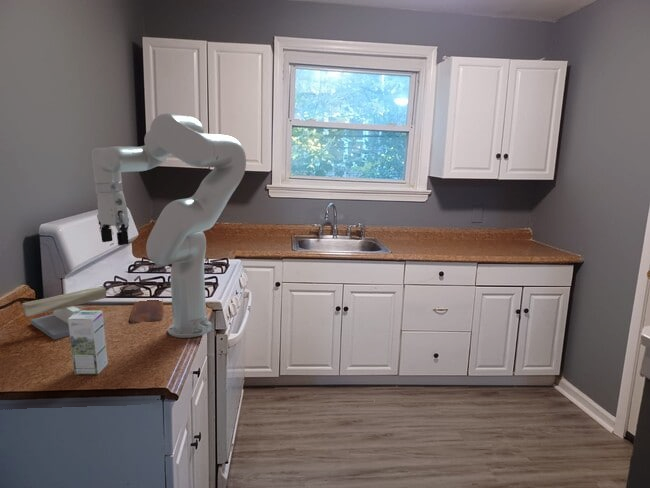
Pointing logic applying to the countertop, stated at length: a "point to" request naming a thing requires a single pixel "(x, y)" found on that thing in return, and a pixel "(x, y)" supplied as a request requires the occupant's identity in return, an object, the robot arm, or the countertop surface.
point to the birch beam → (63, 301)
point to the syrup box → (87, 342)
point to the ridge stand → (56, 322)
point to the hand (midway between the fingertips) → (115, 243)
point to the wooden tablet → (147, 311)
